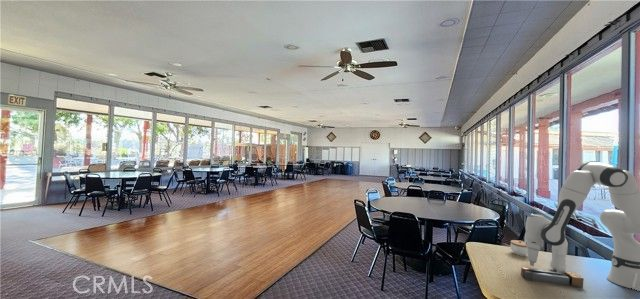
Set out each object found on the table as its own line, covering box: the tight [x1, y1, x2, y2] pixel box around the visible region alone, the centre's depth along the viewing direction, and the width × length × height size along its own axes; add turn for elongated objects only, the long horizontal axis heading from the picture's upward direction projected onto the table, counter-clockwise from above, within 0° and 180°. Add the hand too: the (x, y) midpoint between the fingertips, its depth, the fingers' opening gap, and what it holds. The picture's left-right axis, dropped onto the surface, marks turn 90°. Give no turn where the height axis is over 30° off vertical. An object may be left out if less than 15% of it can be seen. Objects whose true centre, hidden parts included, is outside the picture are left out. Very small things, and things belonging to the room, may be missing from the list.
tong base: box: [523, 270, 585, 289], centre depth 154 cm, size 26×7×5 cm, turn 78°
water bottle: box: [550, 237, 569, 273], centre depth 168 cm, size 7×7×25 cm
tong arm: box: [520, 266, 567, 278], centre depth 157 cm, size 21×3×4 cm, turn 77°
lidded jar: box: [510, 239, 528, 257], centre depth 192 cm, size 11×11×9 cm
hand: (531, 264), depth 168 cm, fingers closed
